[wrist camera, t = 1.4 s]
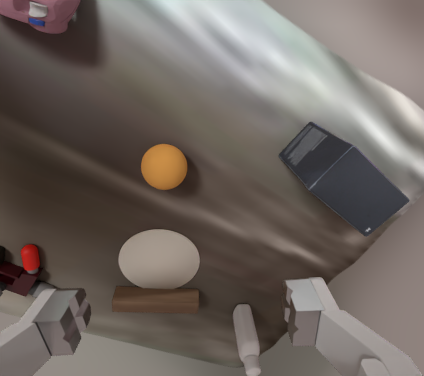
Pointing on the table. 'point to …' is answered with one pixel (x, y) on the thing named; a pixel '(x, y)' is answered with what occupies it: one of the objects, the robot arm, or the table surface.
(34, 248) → the toy gun
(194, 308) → the rail
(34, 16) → the video game controller
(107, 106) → the table surface
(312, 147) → the small box
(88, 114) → the table surface
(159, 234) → the white flat disc
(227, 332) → the table surface
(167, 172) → the ball
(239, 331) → the eye dropper bottle
